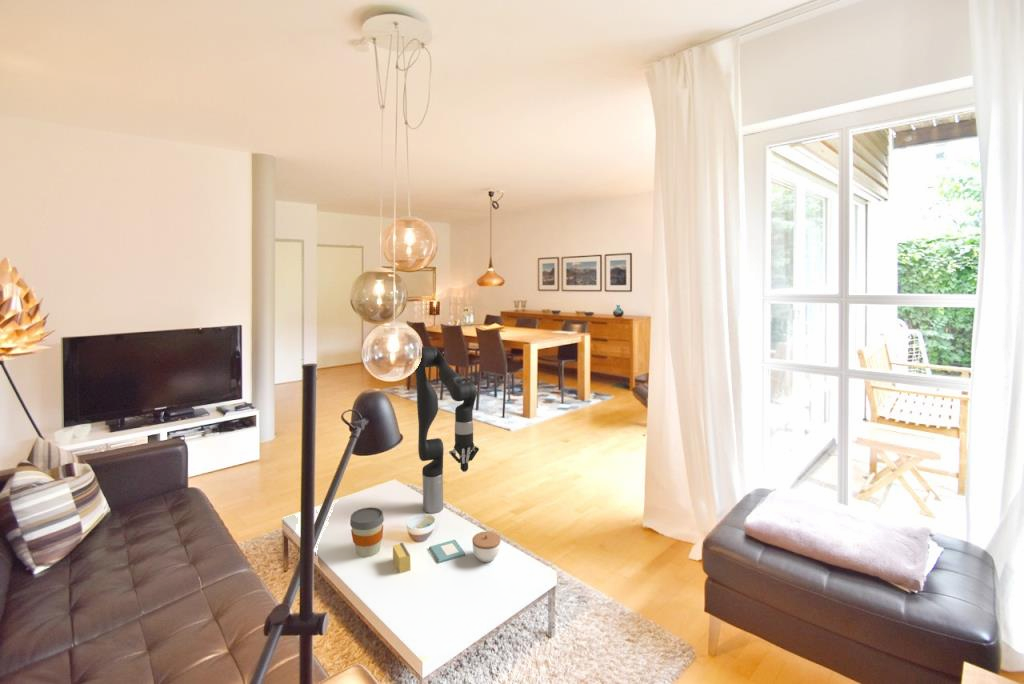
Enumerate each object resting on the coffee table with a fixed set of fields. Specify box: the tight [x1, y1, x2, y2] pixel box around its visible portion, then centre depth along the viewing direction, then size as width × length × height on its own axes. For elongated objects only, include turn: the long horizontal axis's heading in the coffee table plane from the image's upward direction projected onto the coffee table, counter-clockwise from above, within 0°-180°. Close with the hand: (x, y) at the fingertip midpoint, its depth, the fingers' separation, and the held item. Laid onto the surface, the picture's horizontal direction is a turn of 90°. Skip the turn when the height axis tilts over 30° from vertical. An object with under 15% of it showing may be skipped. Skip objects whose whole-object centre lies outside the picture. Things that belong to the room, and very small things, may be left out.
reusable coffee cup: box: [349, 507, 385, 558], centre depth 190 cm, size 13×13×15 cm
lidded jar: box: [471, 531, 501, 563], centre depth 187 cm, size 11×11×9 cm
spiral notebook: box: [428, 539, 467, 564], centre depth 191 cm, size 11×11×1 cm
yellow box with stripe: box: [392, 542, 412, 574], centre depth 182 cm, size 9×4×6 cm, turn 29°
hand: (464, 470), depth 202 cm, fingers closed
